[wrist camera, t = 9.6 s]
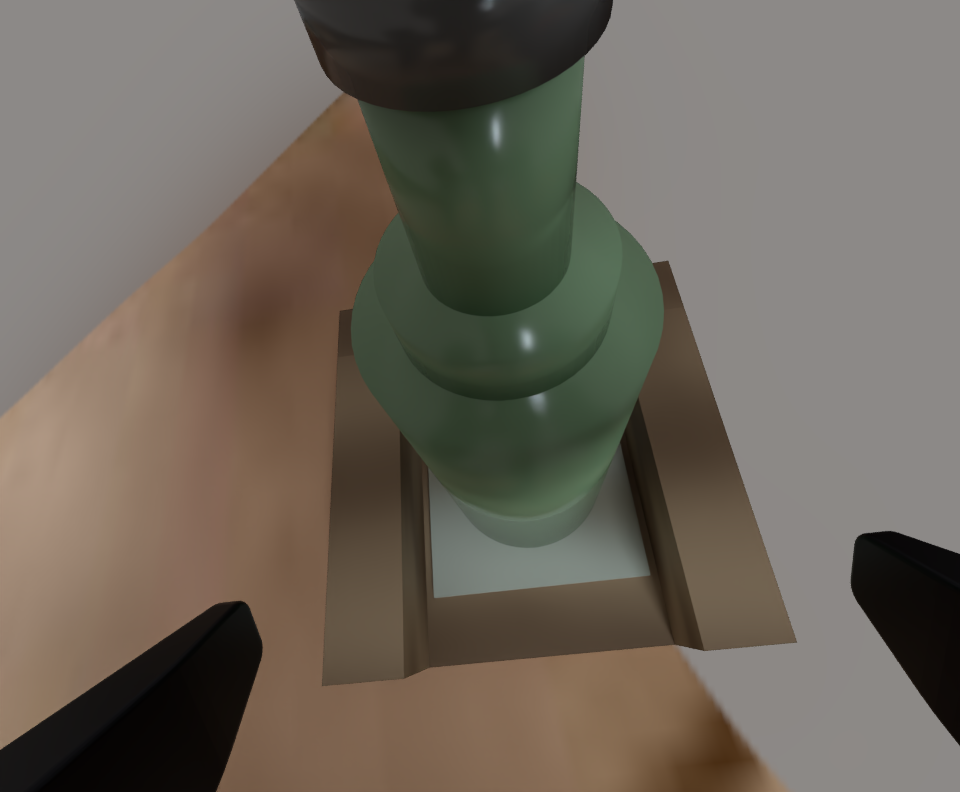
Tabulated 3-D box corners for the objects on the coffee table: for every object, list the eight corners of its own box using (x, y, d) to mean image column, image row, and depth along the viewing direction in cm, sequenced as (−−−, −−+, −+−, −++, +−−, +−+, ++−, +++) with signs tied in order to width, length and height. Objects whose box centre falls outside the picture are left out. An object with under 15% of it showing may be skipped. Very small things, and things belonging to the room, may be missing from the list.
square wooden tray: (737, 636, 15) (796, 642, 12) (372, 670, 16) (322, 686, 12) (646, 323, 20) (668, 260, 17) (374, 362, 21) (339, 311, 18)
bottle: (584, 566, 15) (858, 171, 2) (434, 524, 16) (-60, 98, 3) (611, 421, 17) (839, -278, 4) (476, 393, 18) (288, -215, 5)
